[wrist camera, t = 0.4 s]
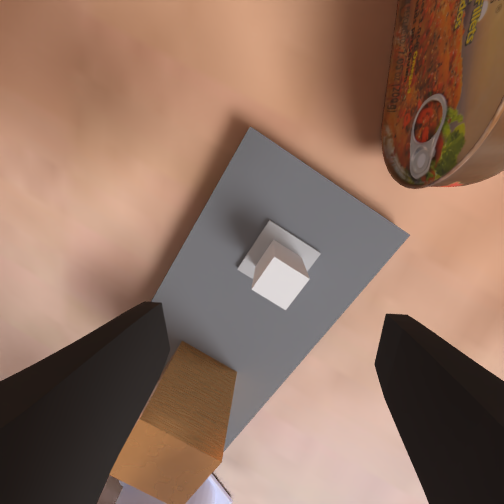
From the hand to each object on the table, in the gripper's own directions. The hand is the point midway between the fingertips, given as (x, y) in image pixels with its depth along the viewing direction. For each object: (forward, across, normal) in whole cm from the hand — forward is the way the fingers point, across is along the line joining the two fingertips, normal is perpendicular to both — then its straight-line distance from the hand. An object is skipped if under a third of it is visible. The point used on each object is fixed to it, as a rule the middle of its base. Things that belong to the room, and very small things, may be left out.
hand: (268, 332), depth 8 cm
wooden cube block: (+8, +6, +12) cm, 15 cm away
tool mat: (+10, +3, +7) cm, 12 cm away
